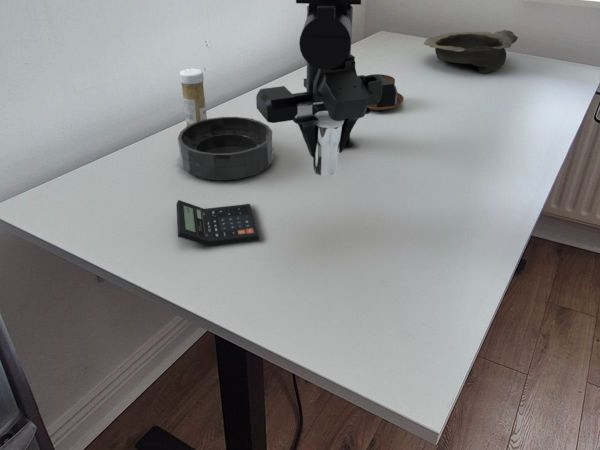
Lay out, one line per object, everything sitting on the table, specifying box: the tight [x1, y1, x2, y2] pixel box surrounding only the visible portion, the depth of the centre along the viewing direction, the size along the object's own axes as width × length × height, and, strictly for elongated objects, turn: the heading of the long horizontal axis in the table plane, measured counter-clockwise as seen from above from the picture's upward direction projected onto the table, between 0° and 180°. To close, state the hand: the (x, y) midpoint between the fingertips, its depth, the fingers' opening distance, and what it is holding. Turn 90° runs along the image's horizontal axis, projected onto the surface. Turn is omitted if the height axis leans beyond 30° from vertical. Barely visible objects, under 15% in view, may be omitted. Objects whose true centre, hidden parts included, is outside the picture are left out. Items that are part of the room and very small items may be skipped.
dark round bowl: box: [177, 116, 274, 181], centre depth 103 cm, size 17×17×6 cm
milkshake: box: [312, 111, 344, 177], centre depth 78 cm, size 4×5×10 cm
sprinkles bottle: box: [179, 68, 208, 127], centre depth 111 cm, size 5×5×14 cm
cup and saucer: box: [367, 73, 404, 111], centre depth 127 cm, size 12×12×6 cm
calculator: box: [176, 199, 260, 247], centre depth 84 cm, size 9×12×3 cm
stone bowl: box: [423, 29, 519, 74], centre depth 153 cm, size 25×25×9 cm
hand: (325, 154), depth 79 cm, fingers closed on milkshake, 4 cm apart
